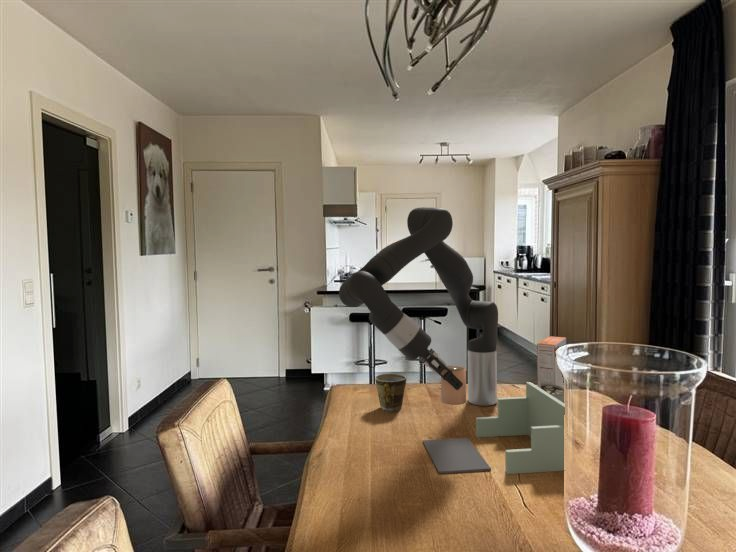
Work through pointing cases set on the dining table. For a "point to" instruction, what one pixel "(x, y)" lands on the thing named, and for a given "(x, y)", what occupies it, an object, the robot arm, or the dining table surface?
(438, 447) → the charcoal mat
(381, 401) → the ceramic cup
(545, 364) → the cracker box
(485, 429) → the stepped shelf frame
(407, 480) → the dining table surface
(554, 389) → the food container
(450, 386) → the pink and brown cylinder
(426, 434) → the dining table surface
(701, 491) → the dining table surface
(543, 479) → the dining table surface
